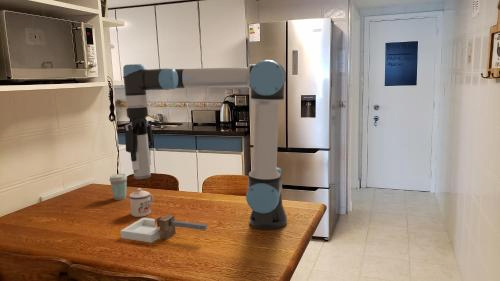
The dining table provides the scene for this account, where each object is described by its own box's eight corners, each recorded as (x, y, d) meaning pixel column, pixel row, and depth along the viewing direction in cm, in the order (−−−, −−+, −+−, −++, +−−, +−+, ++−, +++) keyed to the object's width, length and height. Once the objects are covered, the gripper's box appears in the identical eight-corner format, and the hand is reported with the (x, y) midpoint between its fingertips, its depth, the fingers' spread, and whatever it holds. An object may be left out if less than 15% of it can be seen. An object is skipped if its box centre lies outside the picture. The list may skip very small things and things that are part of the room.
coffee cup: (111, 197, 200) (109, 174, 198) (128, 195, 203) (126, 172, 200) (111, 202, 192) (108, 178, 190) (129, 199, 194) (126, 176, 192)
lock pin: (208, 230, 143) (208, 220, 143) (204, 233, 140) (203, 224, 139) (160, 223, 151) (160, 215, 150) (155, 227, 148) (154, 218, 147)
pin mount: (175, 233, 151) (174, 215, 149) (167, 239, 145) (165, 220, 144) (168, 232, 152) (167, 214, 150) (160, 238, 146) (158, 219, 145)
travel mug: (133, 180, 144) (129, 127, 141) (134, 175, 150) (129, 125, 147) (151, 178, 146) (146, 125, 142) (150, 174, 152) (146, 123, 149)
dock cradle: (172, 228, 156) (172, 221, 155) (151, 242, 143) (151, 235, 142) (143, 224, 161) (143, 217, 160) (121, 238, 148) (120, 230, 148)
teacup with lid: (140, 218, 168) (138, 192, 166) (126, 215, 173) (124, 190, 171) (160, 210, 178) (158, 185, 176) (147, 207, 183) (145, 183, 181)
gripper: (144, 104, 154) (149, 161, 158) (110, 109, 136) (116, 172, 140) (160, 104, 151) (164, 162, 155) (128, 109, 133) (133, 174, 137)
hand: (142, 167), depth 147 cm, fingers closed on travel mug, 6 cm apart
